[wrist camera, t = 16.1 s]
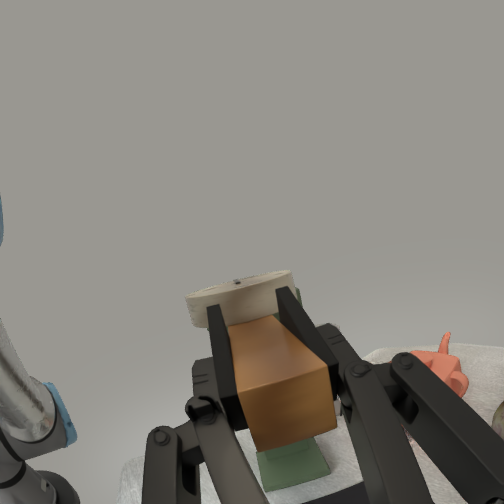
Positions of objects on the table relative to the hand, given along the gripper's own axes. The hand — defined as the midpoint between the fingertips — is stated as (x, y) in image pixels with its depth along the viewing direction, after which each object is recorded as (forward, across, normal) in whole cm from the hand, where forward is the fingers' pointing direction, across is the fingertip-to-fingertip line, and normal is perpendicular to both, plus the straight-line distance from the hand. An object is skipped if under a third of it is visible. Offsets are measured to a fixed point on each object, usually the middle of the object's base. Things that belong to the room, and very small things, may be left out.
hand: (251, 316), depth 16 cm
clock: (0, 0, -4) cm, 4 cm away
